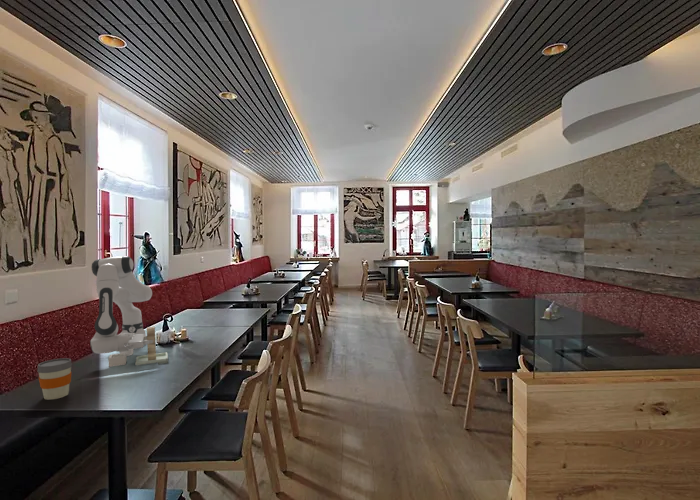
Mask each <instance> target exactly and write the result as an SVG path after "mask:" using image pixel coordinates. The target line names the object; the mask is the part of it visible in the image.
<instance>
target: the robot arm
mask: <svg viewBox="0 0 700 500" xmlns="http://www.w3.org/2000/svg"><path fill="white" fill-rule="evenodd" d="M134 266H135V265H134V261H133V258H132V257H130V256H128V255H123V256H119V255H118V256H111V257H106V258H105V257H104V258H99V259H95V260H93V261H92V263H91V271H92V275H94V276H96V281H95V282H96V284H95V285H96V293H97V296H98V299H99V300H98V306H99V307H98V315H97V317H96V320H95V323H94V330H95V331H96V332H95V334H94V335H93V337H92V338H91V339H90V341H89V344H90V349H91V351H92V353H94V354H99V355H100V354H110V353H113V352H119V353H120V351H128V350H129V349H133V350H134V349H141V348H144V346H145V345H147V344H150V343H153V340H147V332H146V330H145V329H144V323H143V319H142V318H143V317H142V311H141V309H140V308H138V307H136V306H134V304H133V303H142V302H143V303H144V302H146V301H150V300H151V298H152V296H153V290H152V288H151V287H150V285H146V284H144V283H142V282H141V281H139V279H137V278H136V277H135V274H134V273H133V270H134ZM113 303H115V305H117V306H118V308H119V309H120V312H121V315H122V325H121V328H122V331H121V332H120V333H119V334H123V333H135V334H131V335H130V334H125V335H119V334H118V332H119V325H118V323H117V320H116V318H115V316H114V314H113V308H114V304H113Z"/></svg>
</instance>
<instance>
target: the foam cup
mask: <svg viewBox="0 0 700 500" xmlns="http://www.w3.org/2000/svg"><path fill="white" fill-rule="evenodd" d="M125 334H130V335H131V334H135V333H123V334H120V333H118V335H125ZM120 353H126V354H127V357H131V356H132V355H133V354H134V349H129V350H128V351H120V352H119V354H120Z"/></svg>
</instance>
